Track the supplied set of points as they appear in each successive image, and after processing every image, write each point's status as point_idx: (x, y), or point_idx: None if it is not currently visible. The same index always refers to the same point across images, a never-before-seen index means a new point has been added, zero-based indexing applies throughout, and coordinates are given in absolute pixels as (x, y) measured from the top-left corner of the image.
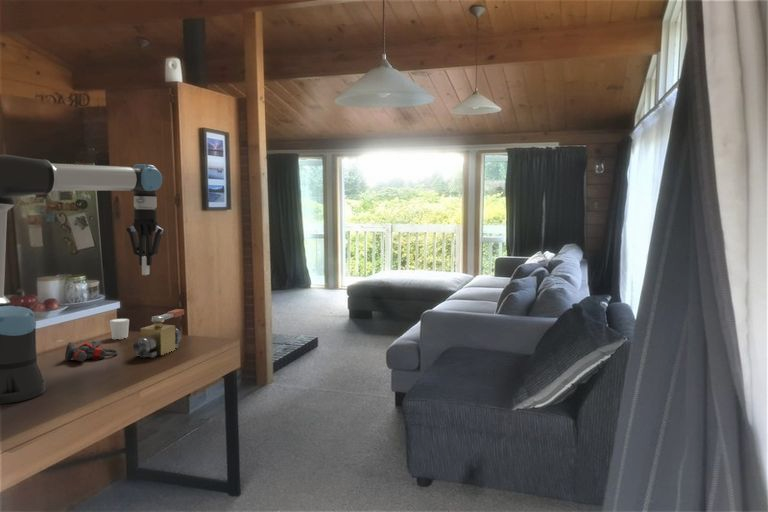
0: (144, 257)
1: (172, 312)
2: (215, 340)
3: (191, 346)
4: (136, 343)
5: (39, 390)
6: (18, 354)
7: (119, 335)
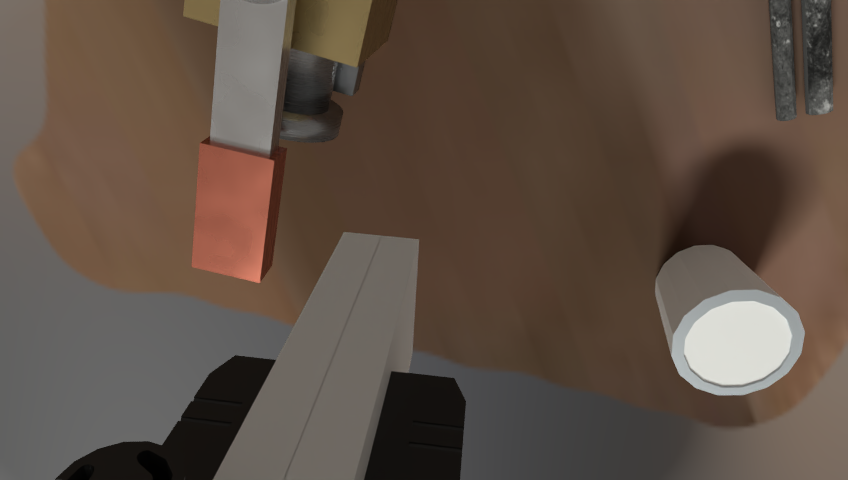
0: (263, 477)
1: (223, 148)
2: (137, 237)
3: (203, 100)
4: None
5: None
6: None
7: (696, 255)
